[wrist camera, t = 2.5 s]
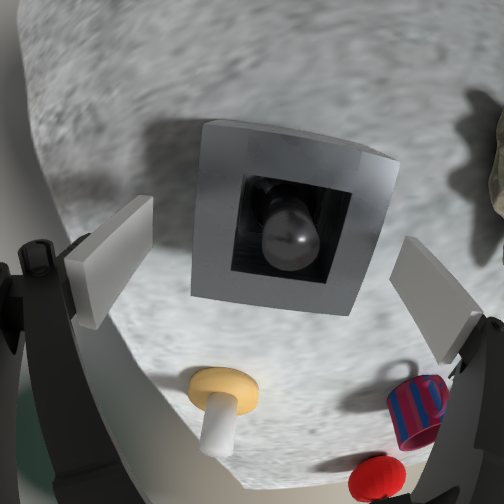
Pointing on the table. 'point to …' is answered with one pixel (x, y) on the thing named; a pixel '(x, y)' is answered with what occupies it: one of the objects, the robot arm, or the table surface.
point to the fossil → (498, 172)
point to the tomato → (377, 479)
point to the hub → (221, 406)
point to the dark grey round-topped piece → (286, 222)
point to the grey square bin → (250, 244)
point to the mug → (418, 411)
